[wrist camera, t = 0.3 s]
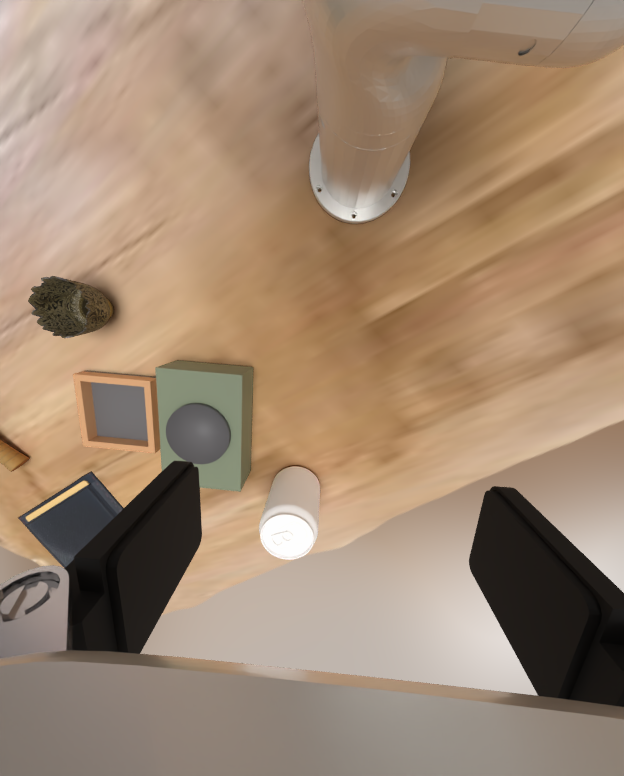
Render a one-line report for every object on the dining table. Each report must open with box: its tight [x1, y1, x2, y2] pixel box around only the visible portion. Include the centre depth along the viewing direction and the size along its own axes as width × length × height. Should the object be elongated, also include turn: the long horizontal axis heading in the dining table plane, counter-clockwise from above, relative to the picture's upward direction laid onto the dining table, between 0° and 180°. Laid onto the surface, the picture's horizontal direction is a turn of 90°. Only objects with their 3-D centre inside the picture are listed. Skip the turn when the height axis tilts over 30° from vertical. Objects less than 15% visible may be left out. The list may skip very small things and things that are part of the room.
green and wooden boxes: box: [73, 360, 253, 492], centre depth 45 cm, size 18×27×7 cm, turn 86°
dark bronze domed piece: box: [28, 276, 114, 338], centre depth 41 cm, size 8×7×8 cm
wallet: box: [19, 471, 124, 568], centre depth 55 cm, size 20×2×15 cm
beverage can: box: [259, 466, 320, 560], centre depth 45 cm, size 8×8×12 cm
